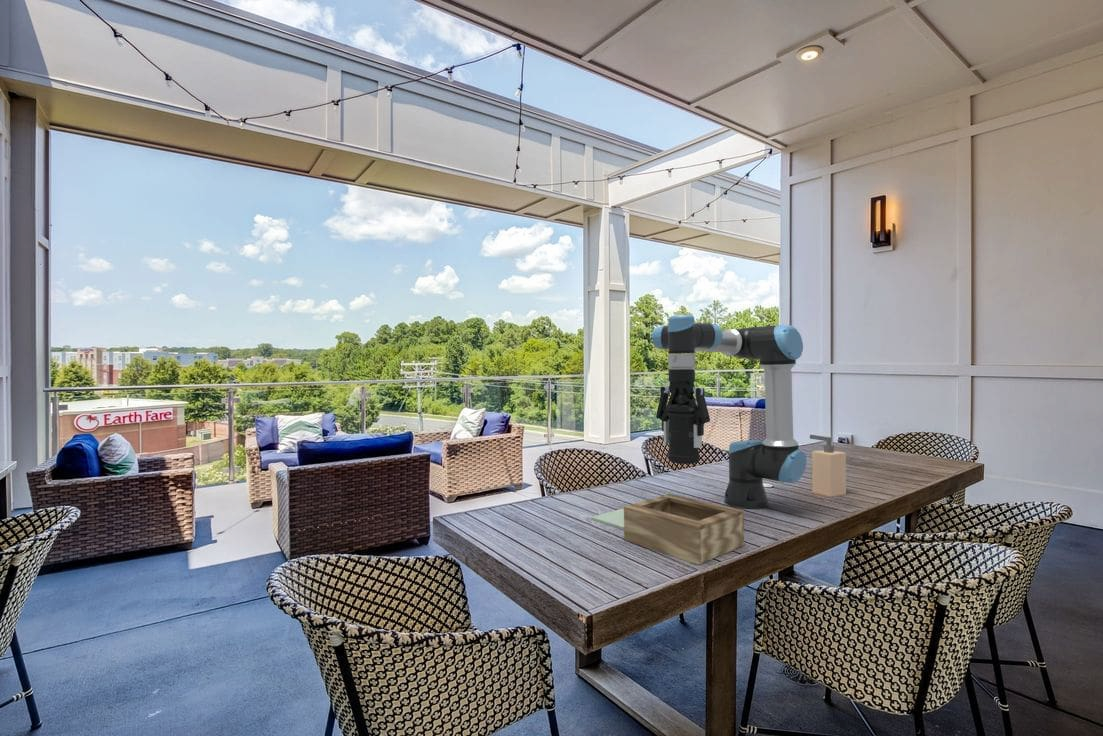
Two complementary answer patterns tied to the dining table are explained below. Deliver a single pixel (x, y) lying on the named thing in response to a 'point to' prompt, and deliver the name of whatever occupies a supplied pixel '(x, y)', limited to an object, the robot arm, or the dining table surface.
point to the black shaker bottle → (682, 432)
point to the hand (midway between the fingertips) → (682, 445)
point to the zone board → (612, 518)
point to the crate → (684, 527)
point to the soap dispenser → (828, 470)
